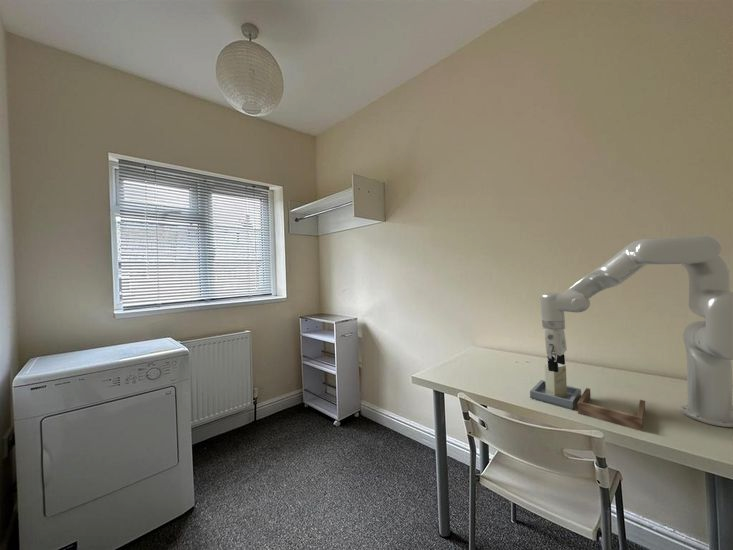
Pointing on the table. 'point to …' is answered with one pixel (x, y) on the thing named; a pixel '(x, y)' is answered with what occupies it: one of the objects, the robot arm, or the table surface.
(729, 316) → the robot arm
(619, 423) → the frame
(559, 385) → the skincare box
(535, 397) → the tray
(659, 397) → the table surface
